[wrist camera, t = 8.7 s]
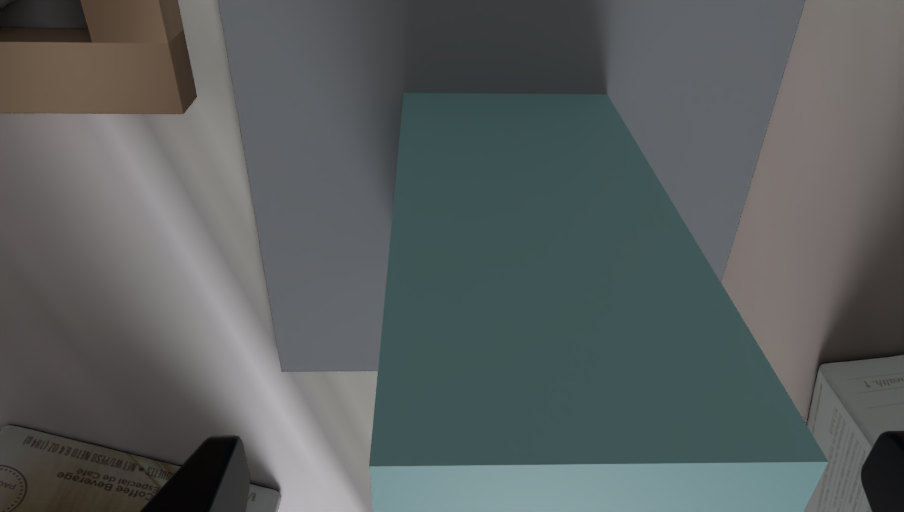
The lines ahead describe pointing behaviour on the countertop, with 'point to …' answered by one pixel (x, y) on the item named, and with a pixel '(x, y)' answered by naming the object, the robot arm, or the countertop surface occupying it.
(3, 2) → the metal ring
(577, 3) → the charcoal mat
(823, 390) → the supplement box
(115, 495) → the coffee box
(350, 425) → the countertop surface
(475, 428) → the teal post
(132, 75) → the walnut stand
